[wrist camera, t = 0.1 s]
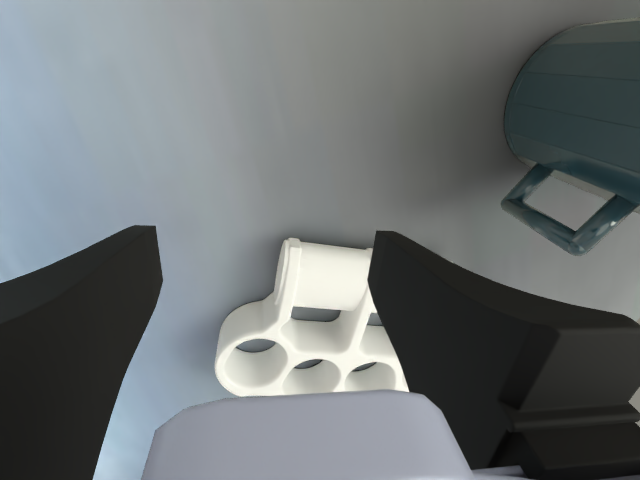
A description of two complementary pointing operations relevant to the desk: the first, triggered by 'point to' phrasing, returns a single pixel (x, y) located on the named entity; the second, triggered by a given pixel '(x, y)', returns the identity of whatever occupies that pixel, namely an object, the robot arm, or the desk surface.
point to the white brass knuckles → (310, 329)
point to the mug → (579, 127)
